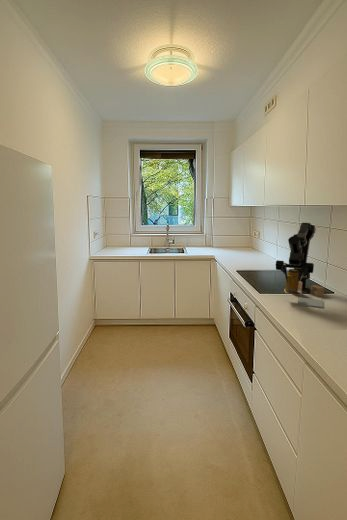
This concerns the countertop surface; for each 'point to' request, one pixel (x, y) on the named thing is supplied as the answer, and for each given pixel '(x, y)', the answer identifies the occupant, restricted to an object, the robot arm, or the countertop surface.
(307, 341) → the countertop surface
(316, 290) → the walnut block
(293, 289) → the condiment
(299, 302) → the slate mat
